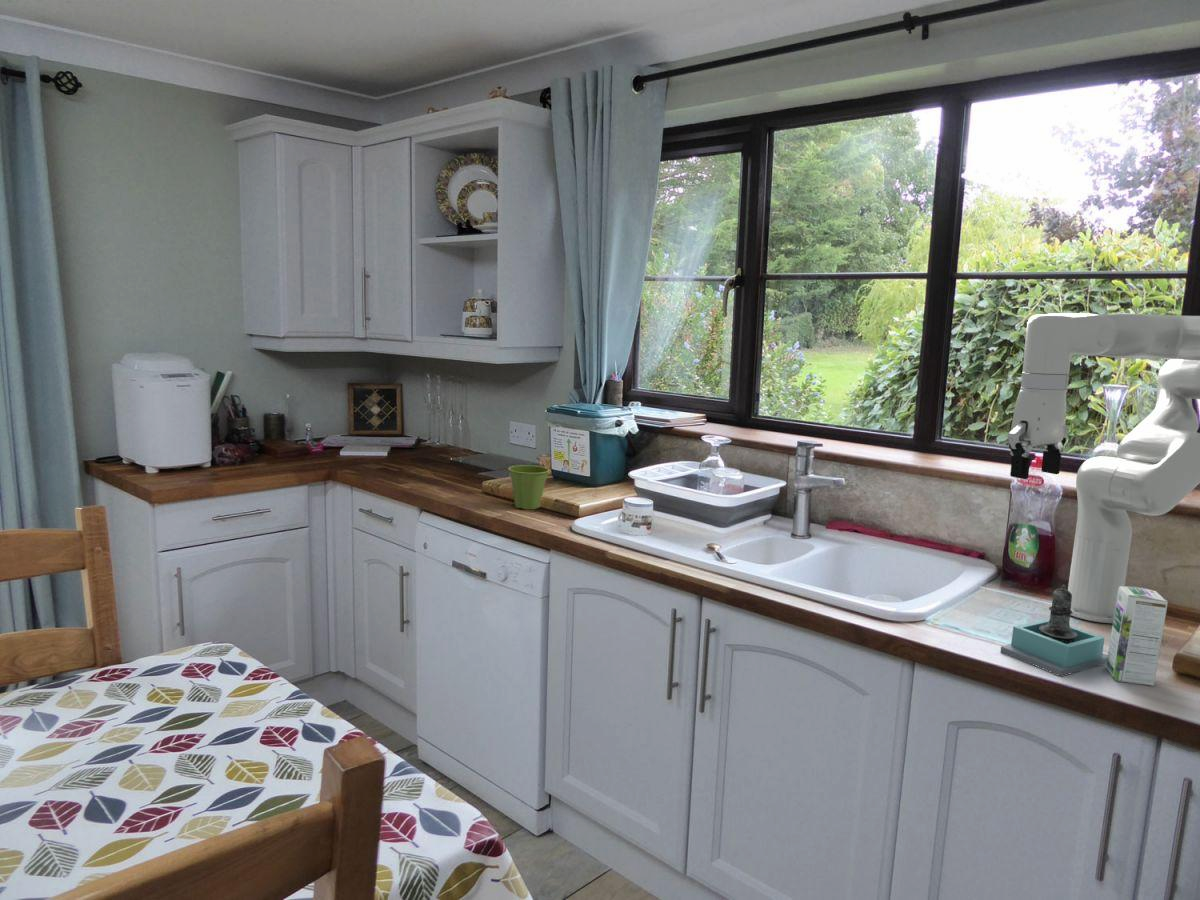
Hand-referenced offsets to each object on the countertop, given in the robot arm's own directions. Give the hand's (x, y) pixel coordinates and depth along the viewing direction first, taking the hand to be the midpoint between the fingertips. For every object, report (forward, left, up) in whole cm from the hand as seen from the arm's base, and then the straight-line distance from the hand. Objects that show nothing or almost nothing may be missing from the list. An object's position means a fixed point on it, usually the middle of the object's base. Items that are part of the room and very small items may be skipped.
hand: (1034, 475), depth 155 cm
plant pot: (+48, -121, -29) cm, 133 cm away
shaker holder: (+8, +13, -29) cm, 33 cm away
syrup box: (+5, +24, -29) cm, 38 cm away
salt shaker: (+8, +13, -28) cm, 32 cm away
